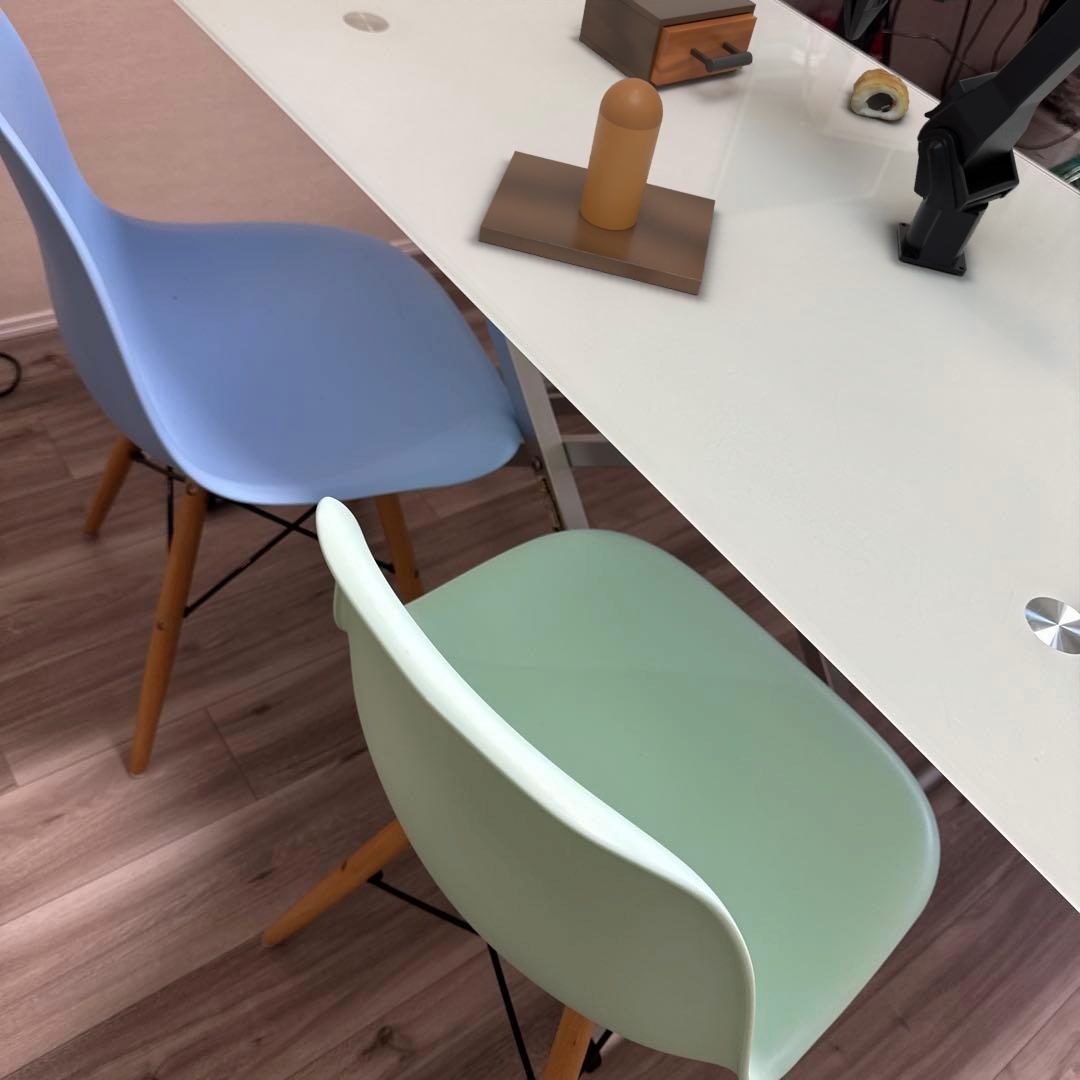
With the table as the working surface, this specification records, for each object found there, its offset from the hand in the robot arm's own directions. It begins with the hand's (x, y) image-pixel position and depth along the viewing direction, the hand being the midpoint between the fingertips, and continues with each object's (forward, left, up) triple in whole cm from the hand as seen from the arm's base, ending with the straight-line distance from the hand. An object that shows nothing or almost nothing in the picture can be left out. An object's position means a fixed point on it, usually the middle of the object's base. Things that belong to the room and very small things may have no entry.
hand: (851, 38), depth 95 cm
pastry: (+18, -8, -13) cm, 24 cm away
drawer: (+15, +16, -12) cm, 25 cm away
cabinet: (+17, +18, -13) cm, 28 cm away
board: (-22, +19, -13) cm, 32 cm away
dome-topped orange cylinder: (-22, +19, -12) cm, 31 cm away
